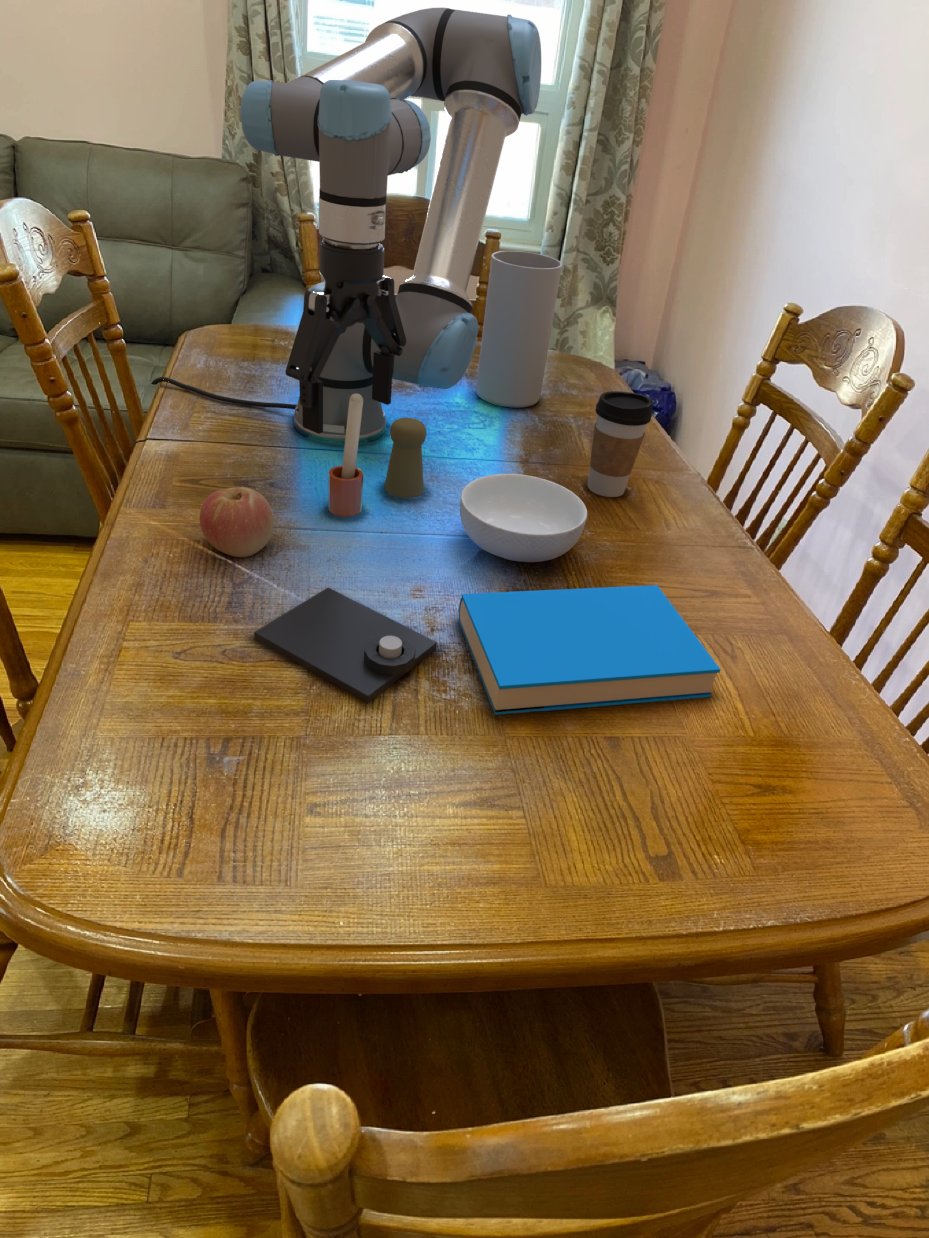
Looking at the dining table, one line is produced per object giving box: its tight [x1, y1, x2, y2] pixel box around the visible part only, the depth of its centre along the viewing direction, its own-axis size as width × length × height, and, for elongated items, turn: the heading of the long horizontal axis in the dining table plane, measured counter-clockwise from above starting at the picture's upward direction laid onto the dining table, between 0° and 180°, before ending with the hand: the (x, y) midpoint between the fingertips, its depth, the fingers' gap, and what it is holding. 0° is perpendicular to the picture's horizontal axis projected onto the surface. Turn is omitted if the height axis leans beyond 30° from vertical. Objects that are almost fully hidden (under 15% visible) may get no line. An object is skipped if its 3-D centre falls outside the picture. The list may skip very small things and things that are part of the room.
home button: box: [379, 636, 402, 659], centre depth 87 cm, size 2×2×1 cm
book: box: [458, 584, 721, 715], centre depth 93 cm, size 17×4×25 cm
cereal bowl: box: [459, 473, 588, 563], centre depth 110 cm, size 17×17×7 cm
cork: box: [384, 417, 427, 499], centre depth 119 cm, size 6×6×11 cm
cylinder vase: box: [475, 250, 563, 409], centre depth 152 cm, size 12×12×25 cm
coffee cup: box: [587, 390, 654, 498], centre depth 126 cm, size 8×8×15 cm
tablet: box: [253, 587, 438, 704], centre depth 90 cm, size 17×12×2 cm
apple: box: [199, 486, 275, 558], centre depth 102 cm, size 9×9×8 cm
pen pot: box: [327, 464, 364, 518], centre depth 113 cm, size 5×5×6 cm
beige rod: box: [341, 393, 363, 479], centre depth 111 cm, size 2×2×16 cm
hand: (348, 415), depth 107 cm, fingers open, 13 cm apart
